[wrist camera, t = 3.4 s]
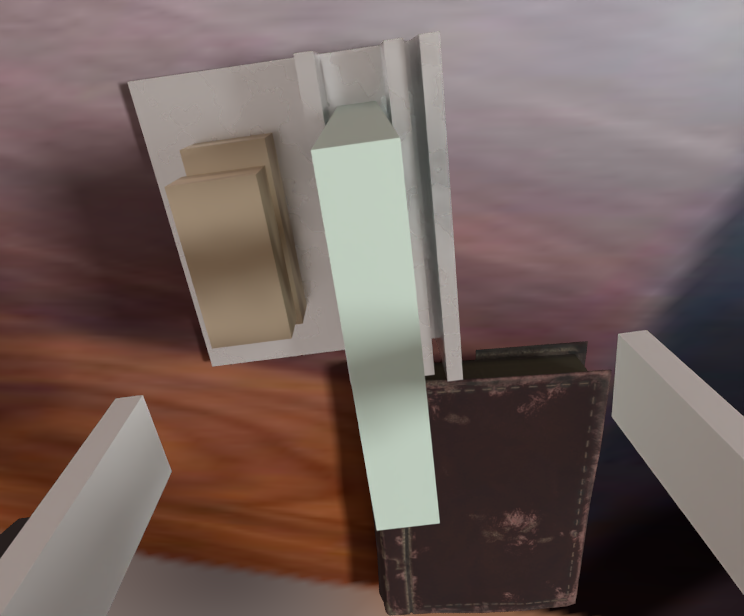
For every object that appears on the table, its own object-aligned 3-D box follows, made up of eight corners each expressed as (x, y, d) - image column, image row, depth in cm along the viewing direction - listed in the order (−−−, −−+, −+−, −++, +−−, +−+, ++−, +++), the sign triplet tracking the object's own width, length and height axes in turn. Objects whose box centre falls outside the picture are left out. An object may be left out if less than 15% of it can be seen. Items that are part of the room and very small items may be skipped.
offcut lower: (306, 305, 38) (302, 323, 35) (238, 314, 38) (229, 333, 35) (272, 132, 33) (264, 138, 30) (194, 143, 33) (179, 150, 30)
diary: (379, 571, 52) (380, 619, 47) (360, 352, 41) (359, 387, 37) (567, 561, 51) (587, 609, 47) (595, 337, 41) (624, 371, 36)
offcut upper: (297, 317, 35) (291, 338, 32) (223, 326, 35) (211, 348, 32) (264, 165, 30) (255, 174, 28) (181, 176, 31) (164, 187, 28)
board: (400, 305, 38) (440, 523, 20) (367, 310, 38) (376, 530, 20) (376, 100, 32) (400, 137, 14) (337, 106, 32) (310, 149, 14)
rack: (446, 330, 40) (463, 379, 33) (215, 359, 40) (189, 413, 34) (422, 39, 32) (439, 31, 25) (133, 81, 32) (78, 83, 26)
